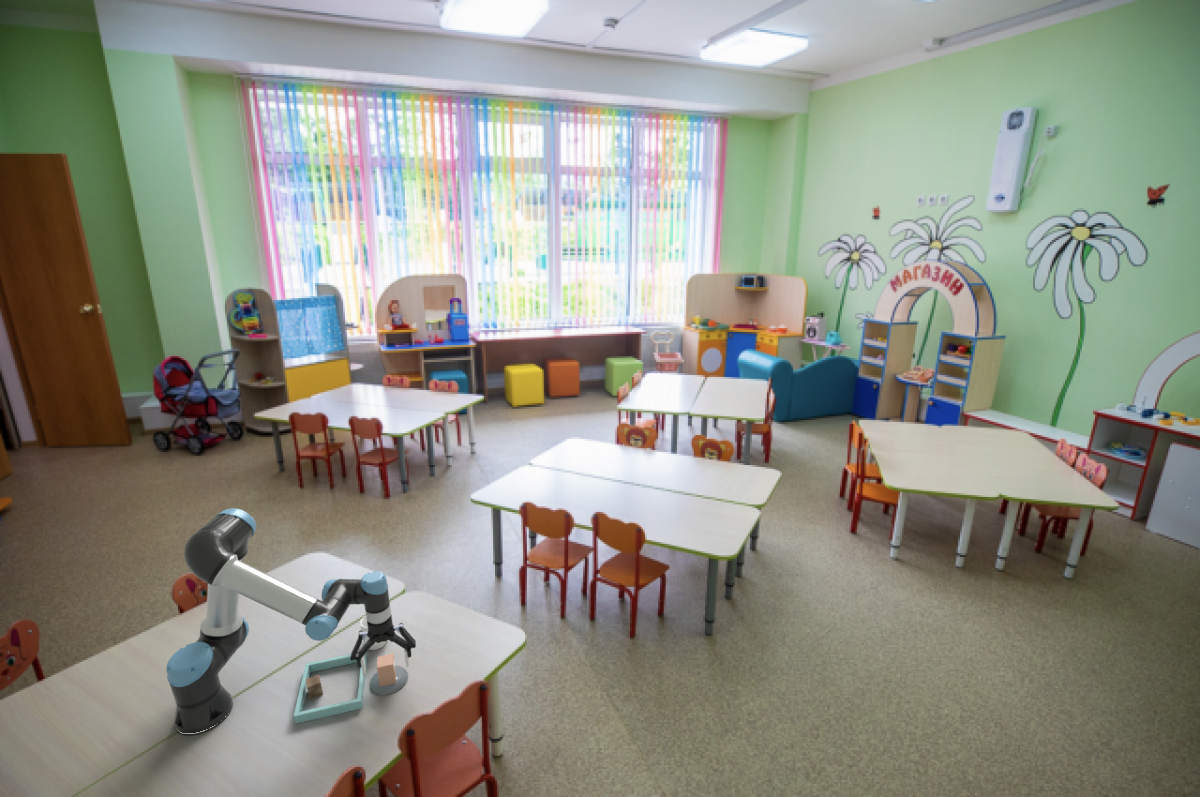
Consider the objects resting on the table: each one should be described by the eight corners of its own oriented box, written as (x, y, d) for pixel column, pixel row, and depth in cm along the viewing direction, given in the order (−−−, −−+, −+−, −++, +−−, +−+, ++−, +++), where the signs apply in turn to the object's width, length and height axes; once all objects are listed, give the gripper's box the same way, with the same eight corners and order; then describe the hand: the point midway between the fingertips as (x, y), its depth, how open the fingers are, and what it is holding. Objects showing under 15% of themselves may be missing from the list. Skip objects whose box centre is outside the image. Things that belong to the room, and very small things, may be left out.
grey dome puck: (368, 698, 186) (368, 697, 186) (371, 671, 197) (371, 670, 197) (407, 689, 189) (407, 688, 189) (407, 663, 200) (407, 662, 200)
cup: (361, 652, 205) (358, 629, 202) (368, 629, 217) (364, 607, 213) (386, 649, 207) (382, 626, 204) (391, 626, 218) (387, 604, 215)
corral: (295, 723, 177) (293, 716, 176) (307, 670, 198) (305, 663, 197) (362, 708, 183) (360, 700, 182) (367, 657, 203) (366, 650, 202)
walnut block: (309, 699, 186) (307, 687, 184) (308, 691, 189) (305, 679, 188) (323, 694, 188) (320, 682, 186) (321, 686, 191) (318, 674, 190)
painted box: (396, 683, 191) (393, 664, 189) (380, 686, 190) (376, 667, 187) (396, 672, 196) (393, 653, 193) (380, 675, 194) (377, 656, 192)
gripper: (419, 602, 192) (424, 652, 199) (338, 616, 185) (347, 668, 191) (419, 616, 185) (425, 668, 192) (335, 632, 178) (344, 686, 185)
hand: (386, 668), depth 192 cm, fingers open, 13 cm apart
